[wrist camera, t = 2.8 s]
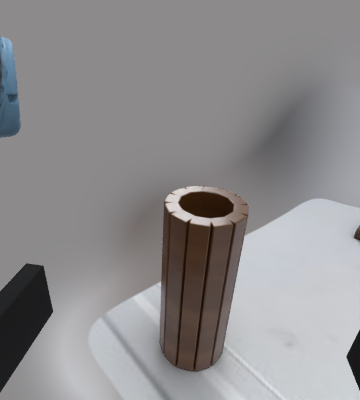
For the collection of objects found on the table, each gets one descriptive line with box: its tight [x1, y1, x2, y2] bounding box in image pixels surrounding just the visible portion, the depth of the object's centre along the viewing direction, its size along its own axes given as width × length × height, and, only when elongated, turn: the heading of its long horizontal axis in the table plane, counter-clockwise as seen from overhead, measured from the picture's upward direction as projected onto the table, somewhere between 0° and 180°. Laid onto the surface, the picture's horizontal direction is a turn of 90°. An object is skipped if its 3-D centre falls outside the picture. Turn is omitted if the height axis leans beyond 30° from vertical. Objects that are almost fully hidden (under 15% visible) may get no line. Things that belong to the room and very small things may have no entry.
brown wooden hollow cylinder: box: [160, 186, 248, 371], centre depth 23 cm, size 6×6×14 cm
